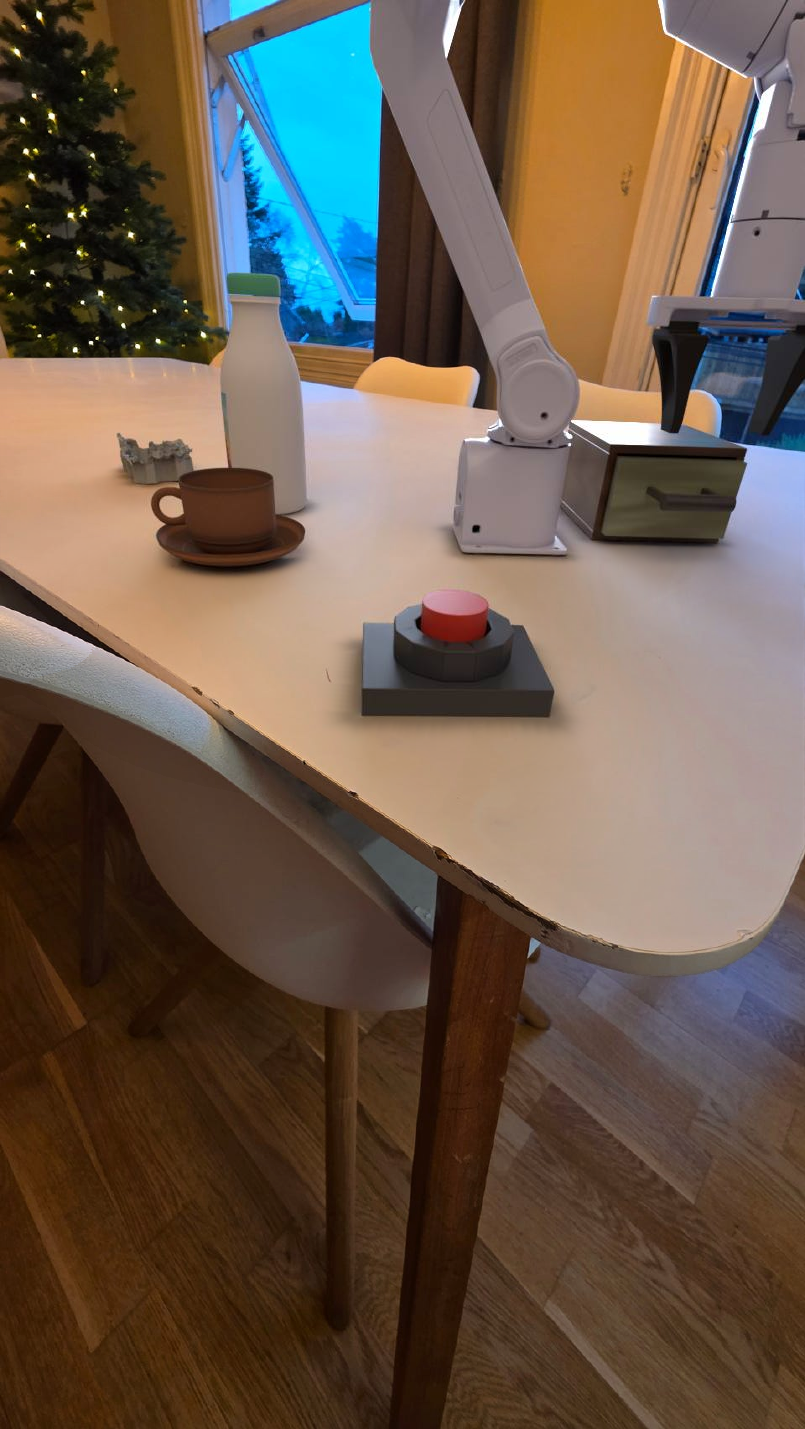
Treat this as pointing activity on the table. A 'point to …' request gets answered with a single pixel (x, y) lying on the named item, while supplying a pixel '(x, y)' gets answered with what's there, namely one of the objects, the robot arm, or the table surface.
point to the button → (454, 615)
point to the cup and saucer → (226, 519)
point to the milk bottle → (263, 391)
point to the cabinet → (598, 456)
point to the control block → (452, 671)
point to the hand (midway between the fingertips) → (714, 432)
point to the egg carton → (155, 460)
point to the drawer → (672, 496)
